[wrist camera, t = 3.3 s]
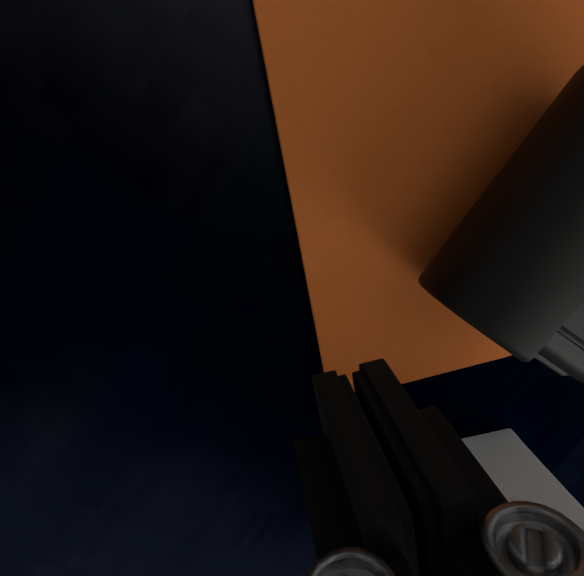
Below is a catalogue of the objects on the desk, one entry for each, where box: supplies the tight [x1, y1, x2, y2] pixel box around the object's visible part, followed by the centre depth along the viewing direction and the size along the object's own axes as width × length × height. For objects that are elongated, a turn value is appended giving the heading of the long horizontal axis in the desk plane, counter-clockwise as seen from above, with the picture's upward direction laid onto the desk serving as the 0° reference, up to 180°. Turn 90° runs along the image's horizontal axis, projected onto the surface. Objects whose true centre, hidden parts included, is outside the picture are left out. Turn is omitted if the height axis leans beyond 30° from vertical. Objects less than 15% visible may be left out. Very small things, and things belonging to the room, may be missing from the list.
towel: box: [252, 0, 584, 392], centre depth 20 cm, size 20×22×1 cm
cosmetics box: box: [462, 428, 584, 531], centre depth 21 cm, size 10×6×10 cm, turn 97°
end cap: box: [418, 65, 584, 384], centre depth 17 cm, size 10×7×7 cm
